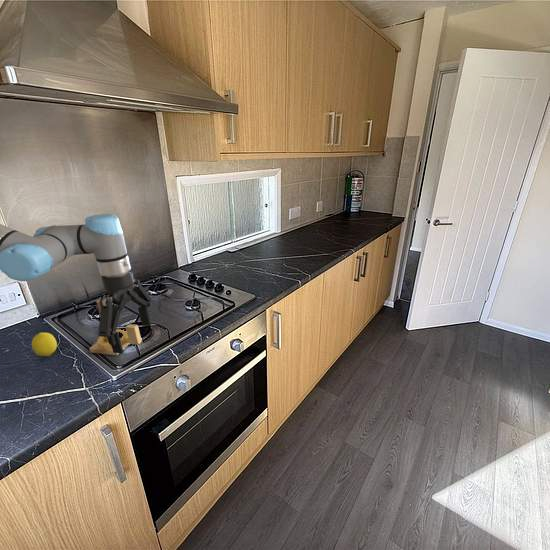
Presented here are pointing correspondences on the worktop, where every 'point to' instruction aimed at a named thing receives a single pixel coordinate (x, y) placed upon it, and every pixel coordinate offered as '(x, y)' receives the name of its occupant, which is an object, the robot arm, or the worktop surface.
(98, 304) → the peg stand
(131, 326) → the hang ring
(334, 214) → the worktop surface
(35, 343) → the lemon
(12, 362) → the worktop surface
